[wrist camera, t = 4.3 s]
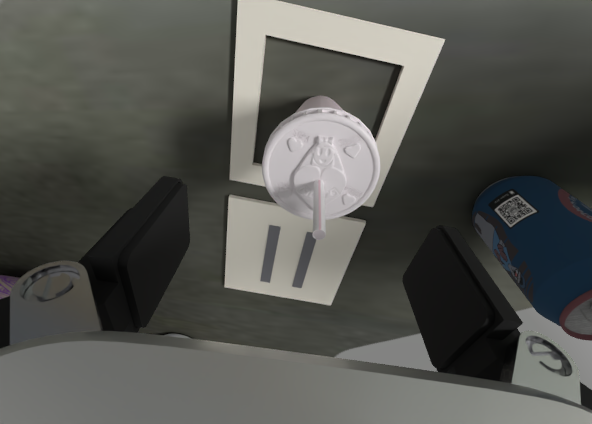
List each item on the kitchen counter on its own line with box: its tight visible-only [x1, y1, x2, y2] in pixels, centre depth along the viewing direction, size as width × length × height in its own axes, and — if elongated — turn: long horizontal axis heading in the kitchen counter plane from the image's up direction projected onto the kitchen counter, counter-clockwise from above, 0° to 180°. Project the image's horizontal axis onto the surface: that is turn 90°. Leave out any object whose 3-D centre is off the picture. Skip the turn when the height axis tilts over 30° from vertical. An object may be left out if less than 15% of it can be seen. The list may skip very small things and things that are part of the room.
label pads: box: [225, 0, 445, 305], centre depth 27 cm, size 14×30×1 cm, turn 169°
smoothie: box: [262, 96, 380, 240], centre depth 17 cm, size 6×6×14 cm
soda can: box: [472, 176, 592, 340], centre depth 21 cm, size 7×7×12 cm
